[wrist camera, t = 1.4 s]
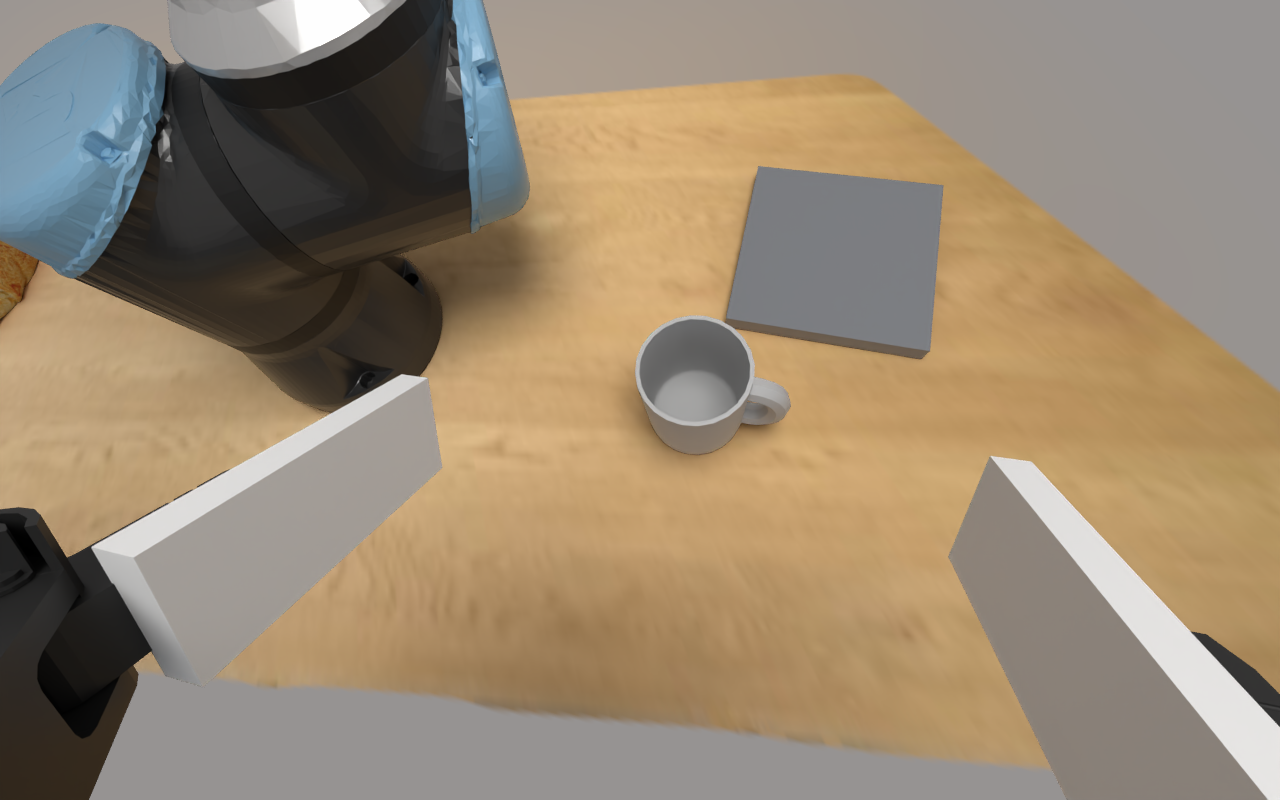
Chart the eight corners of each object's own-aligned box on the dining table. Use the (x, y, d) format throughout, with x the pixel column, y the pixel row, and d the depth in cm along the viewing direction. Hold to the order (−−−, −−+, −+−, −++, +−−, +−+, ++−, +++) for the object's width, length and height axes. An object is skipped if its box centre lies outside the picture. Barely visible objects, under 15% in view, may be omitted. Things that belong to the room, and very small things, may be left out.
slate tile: (725, 326, 40) (725, 318, 38) (756, 178, 44) (758, 166, 42) (921, 359, 37) (929, 351, 36) (934, 198, 41) (943, 185, 40)
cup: (660, 360, 39) (649, 307, 31) (785, 382, 38) (810, 332, 29) (640, 446, 37) (622, 413, 29) (771, 473, 36) (793, 446, 27)
